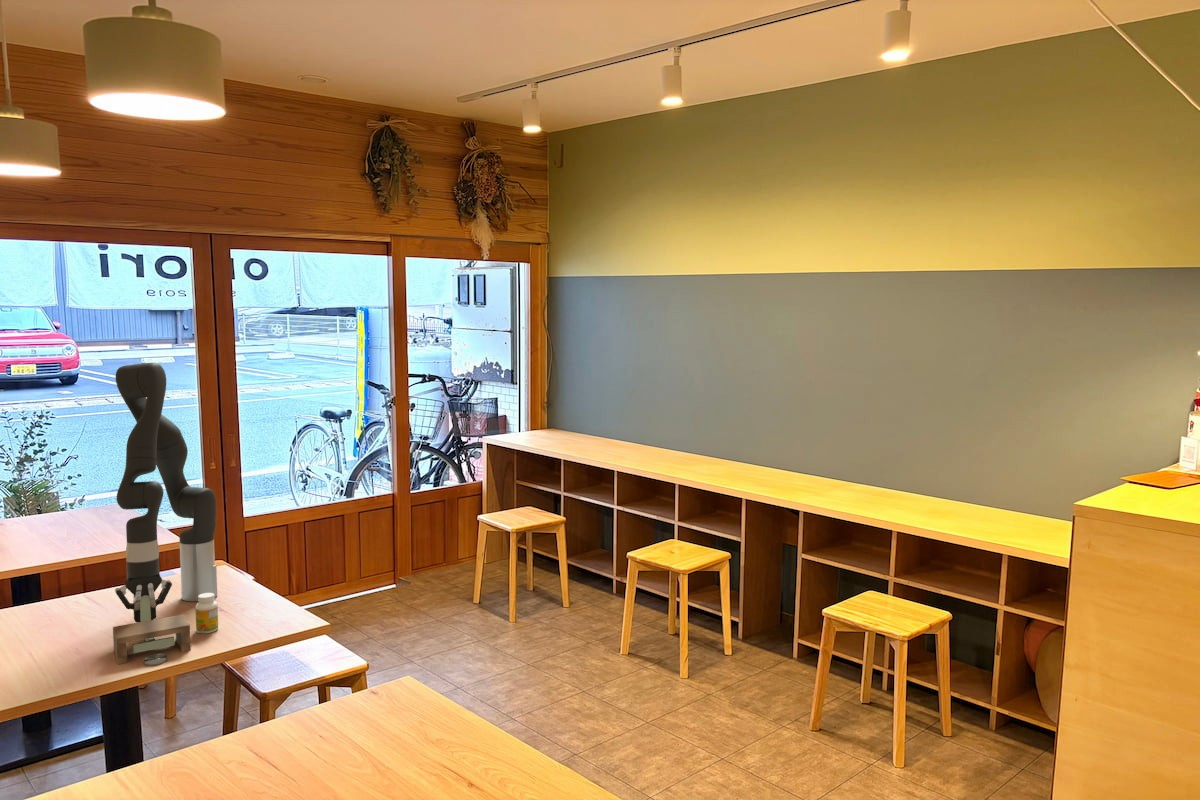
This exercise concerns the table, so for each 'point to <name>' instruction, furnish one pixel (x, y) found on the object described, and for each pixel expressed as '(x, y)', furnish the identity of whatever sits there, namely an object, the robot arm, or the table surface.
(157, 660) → the token
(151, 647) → the rake
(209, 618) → the supplement bottle
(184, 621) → the wooden arch
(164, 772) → the table surface
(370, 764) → the table surface
